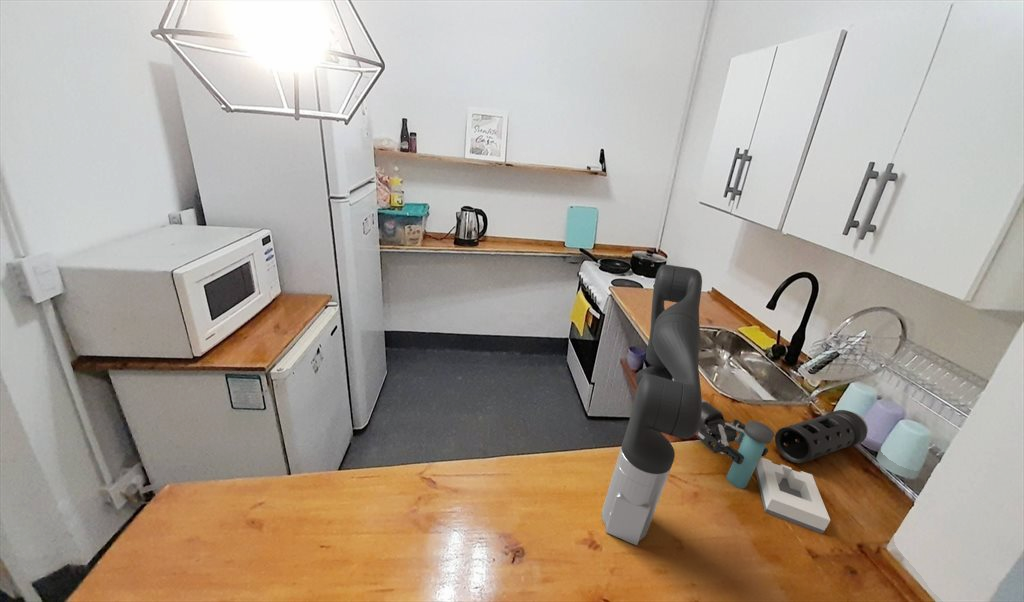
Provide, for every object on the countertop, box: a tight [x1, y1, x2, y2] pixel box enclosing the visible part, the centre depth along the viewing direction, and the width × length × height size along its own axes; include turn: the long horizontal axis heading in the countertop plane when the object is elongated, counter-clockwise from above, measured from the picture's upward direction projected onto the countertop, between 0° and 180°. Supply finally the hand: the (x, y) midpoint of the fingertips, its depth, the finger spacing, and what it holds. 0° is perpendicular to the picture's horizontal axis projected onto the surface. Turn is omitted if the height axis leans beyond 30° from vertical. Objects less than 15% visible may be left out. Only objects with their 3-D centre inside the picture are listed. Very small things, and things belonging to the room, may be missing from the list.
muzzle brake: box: [774, 409, 869, 465], centre depth 109 cm, size 10×28×10 cm, turn 115°
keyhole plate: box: [754, 456, 831, 535], centre depth 92 cm, size 14×11×4 cm
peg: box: [726, 420, 775, 489], centre depth 93 cm, size 6×6×16 cm
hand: (754, 457), depth 92 cm, fingers open, 8 cm apart
